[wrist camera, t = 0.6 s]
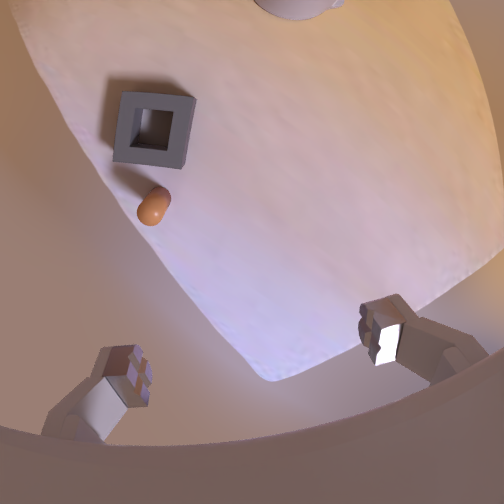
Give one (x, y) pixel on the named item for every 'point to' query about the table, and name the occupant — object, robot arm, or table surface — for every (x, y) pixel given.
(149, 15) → the table surface
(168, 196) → the peg
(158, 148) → the socket holder
